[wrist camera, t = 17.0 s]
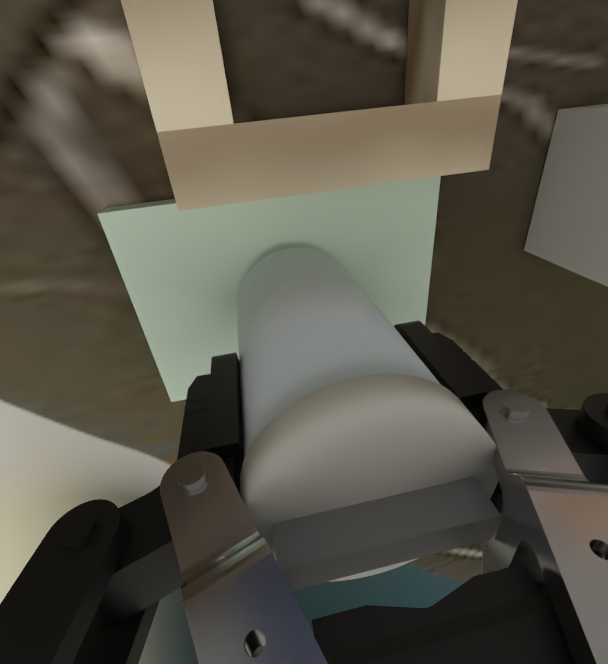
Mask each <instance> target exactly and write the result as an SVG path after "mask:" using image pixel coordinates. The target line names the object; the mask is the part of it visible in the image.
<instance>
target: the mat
mask: <svg viewBox="0 0 608 664" xmlns="http://www.w3.org/2000/svg"><path fill="white" fill-rule="evenodd" d="M440 178H441V176H436V177H429V178H421V179H414V180H406V181H399V182H392V183H384V184H377V185H369V186H362V187H354V188H347V189H339V190H332V191H324V192H317V193H310V194H302V195H295V196H287V197H280V198H272V199H265V200H257V201H250V202H242V203H235V204H227V205H220V206H213V207H205V208H198V209H190V210H183V211H178V208H177V204H176V200H175V199H170V200H162V201H154V202H146V203H139V204H131V205H123V206H116V207H108V208H105V209H103V210H102V211H100V212H99V213H97V214H98V217H99V219H100V222H101V224H102V227H103V229H104V232H105V234H106V237H107V240H108V242H109V245H110V247H111V250H112V252H113V255H114V257H115V260H116V262H117V265H118V268H119V270H120V273H121V275H122V278H123V280H124V283H125V285H126V288H127V290H128V293H129V296H130V298H131V301H132V303H133V306H134V308H135V311H136V313H137V316H138V318H139V321H140V324H141V326H142V329H143V331H144V334H145V336H146V339H147V341H148V344H149V346H150V349H151V351H152V354H153V357H154V359H155V362H156V364H157V367H158V369H159V372H160V374H161V377H162V379H163V382H164V385H165V387H166V390H167V392H168V395H169V397H170V400H171V402H174V401H179V400H185V399H186V398H187V392H188V388H189V387H190V385H191V384H192V382H193V381H194V379H195V378H196V377H197V376H200V375H206V374H211V359H212V357H213V356H218V355H224V354H230V353H235V352H236V353H237V356H238V360H239V353H238V332H237V312H236V302H237V295H238V292H239V289H240V286H241V284H242V282H243V280H244V278H245V277H246V275H247V274H248V272H249V271H250V270H251V269H252V268H253V267H254V266H255V265H256V264H257V263H258V262H259V261H261V260H262V259H264V258H265V257H267V256H269V255H271V254H273V253H275V252H277V251H280V250H283V249H288V248H293V247H309V248H315V249H319V250H322V251H325V252H327V253H329V254H331V255H332V256H334V257H335V258H337V259H338V260H339V261H340V262H341V263H342V264H343V265H344V266H345V267H346V268H347V269H348V271H349V272H350V273H351V274H352V276H353V277H354V278H355V279H356V281H357V282H358V283H359V284H360V285H361V287H362V288H363V289H364V290H365V292H366V293H367V294H368V295H369V297H370V298H371V299H372V300H373V302H374V303H375V304H376V305H377V306H378V308H379V309H380V310H381V311H382V313H383V314H384V315H385V316H386V318H387V319H388V320H389V321H390V323H391V324H392V325H393V326H395V325H396V324H401V323H406V322H412V321H421V322H422V323H423V324H424V325H425V322H426V312H427V303H428V293H429V283H430V274H431V264H432V255H433V245H434V236H435V226H436V216H437V207H438V197H439V188H440Z"/></svg>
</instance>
